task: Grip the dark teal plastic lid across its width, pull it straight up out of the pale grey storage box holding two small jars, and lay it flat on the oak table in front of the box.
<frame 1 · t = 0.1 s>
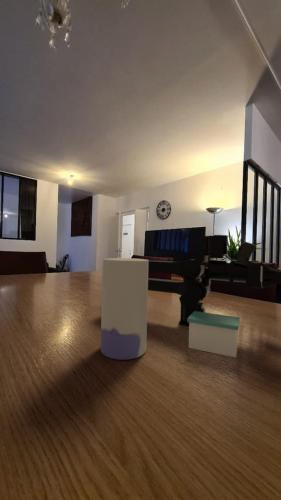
lid: (213, 321, 52), point 6 cm above the table, touching storage box
container: (123, 350, 50), on the table
storage box: (213, 347, 52), on the table
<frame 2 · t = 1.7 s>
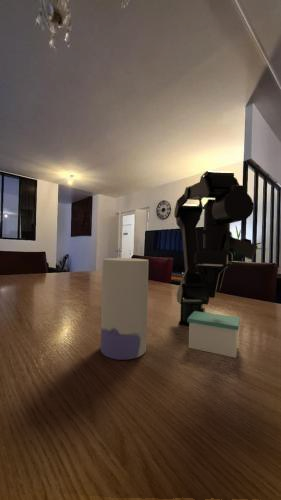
hand: (214, 294, 52), 12 cm above the table, tool pointing down, fingers open, 9 cm apart
nothing on the table moved.
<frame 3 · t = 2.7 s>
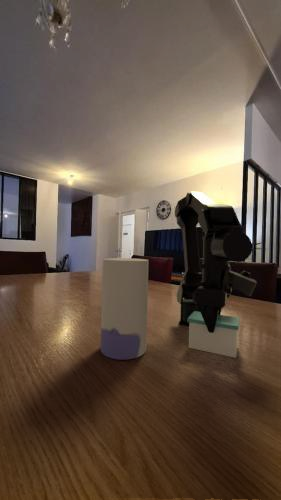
hand: (213, 327, 52), 5 cm above the table, tool pointing down, fingers closed on lid, 7 cm apart
lid: (213, 321, 52), point 6 cm above the table, touching gripper, storage box
everything else where it was.
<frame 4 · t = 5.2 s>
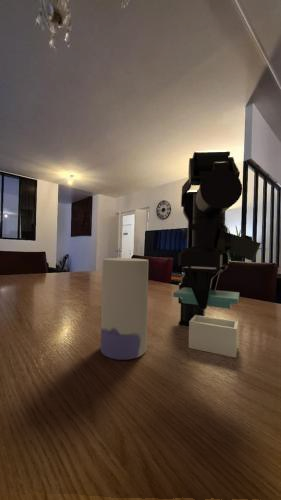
hand: (206, 304, 42), 12 cm above the table, tool pointing down, fingers closed on lid, 7 cm apart
lid: (207, 296, 42), point 14 cm above the table, touching gripper
everything else where it was.
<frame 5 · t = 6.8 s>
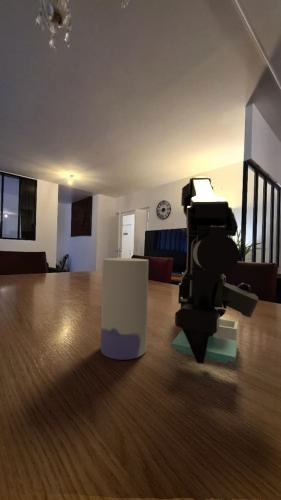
hand: (204, 354, 42), 3 cm above the table, tool pointing down, fingers closed on lid, 7 cm apart
lid: (204, 346, 42), point 5 cm above the table, touching gripper
everything else where it was.
when the fingers open (1 cm above the table, at t = 7.9 s): lid drops 2 cm, point 1 cm above the table.
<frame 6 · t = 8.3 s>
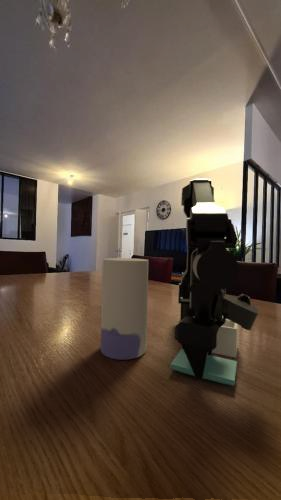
hand: (204, 365, 41), 1 cm above the table, tool pointing down, fingers open, 9 cm apart
lid: (204, 367, 41), point 1 cm above the table
everything else where it was.
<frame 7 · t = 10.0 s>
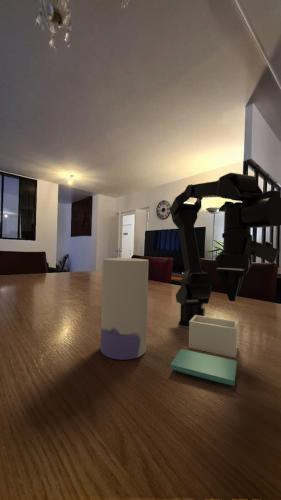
hand: (234, 297, 52), 12 cm above the table, tool pointing down, fingers open, 9 cm apart
nothing on the table moved.
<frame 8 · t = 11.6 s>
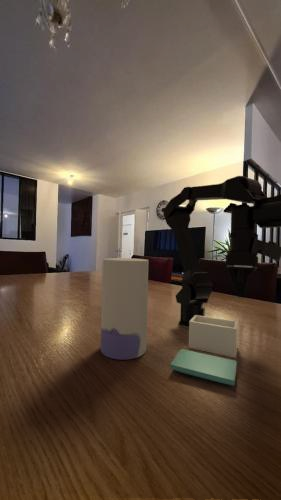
hand: (241, 293, 55), 12 cm above the table, tool pointing down, fingers open, 9 cm apart
nothing on the table moved.
at the end: lid inside the target area (0.0 cm from its centre), point 0.9 cm above the table; lid tilted 0°; lid touching table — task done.
